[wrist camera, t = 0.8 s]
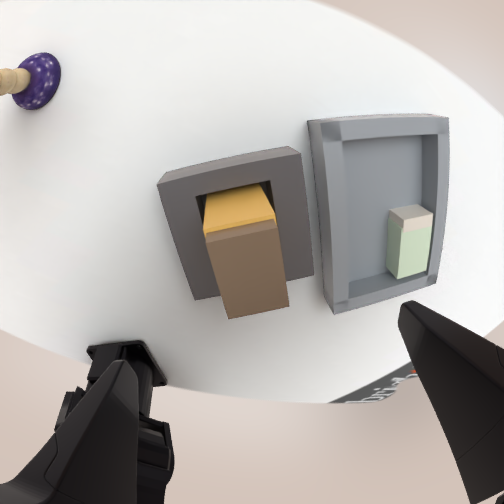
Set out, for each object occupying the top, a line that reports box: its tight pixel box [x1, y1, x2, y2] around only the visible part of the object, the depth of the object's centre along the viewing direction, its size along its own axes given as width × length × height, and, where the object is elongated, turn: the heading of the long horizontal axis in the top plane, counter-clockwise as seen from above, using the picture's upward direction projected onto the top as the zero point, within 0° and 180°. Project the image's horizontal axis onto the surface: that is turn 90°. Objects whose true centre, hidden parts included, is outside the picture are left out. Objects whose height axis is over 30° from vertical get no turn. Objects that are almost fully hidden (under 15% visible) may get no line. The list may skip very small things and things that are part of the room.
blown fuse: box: [203, 182, 289, 319], centre depth 16 cm, size 5×3×7 cm
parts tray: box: [307, 114, 450, 315], centre depth 19 cm, size 14×10×2 cm
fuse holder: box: [157, 146, 314, 300], centre depth 18 cm, size 8×8×3 cm
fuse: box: [386, 204, 433, 279], centre depth 20 cm, size 5×3×2 cm, turn 10°
